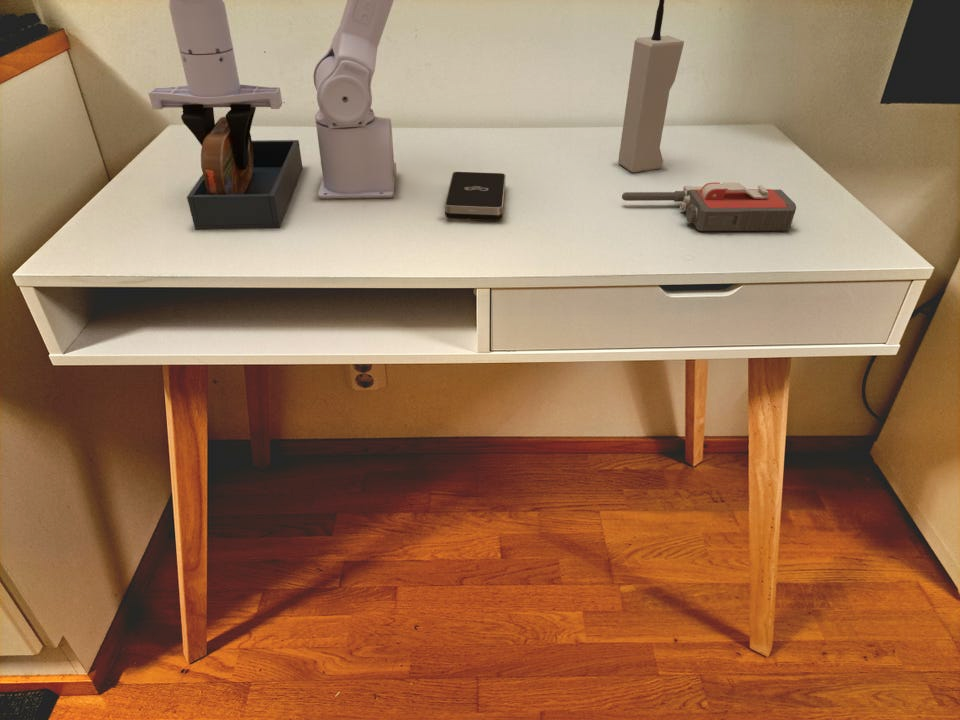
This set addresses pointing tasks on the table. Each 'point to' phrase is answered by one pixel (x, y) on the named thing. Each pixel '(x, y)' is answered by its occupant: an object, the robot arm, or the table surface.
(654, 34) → the vintage mobile phone
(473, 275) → the table surface
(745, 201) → the walkie-talkie
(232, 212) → the bin
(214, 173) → the tin
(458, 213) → the external hard drive
